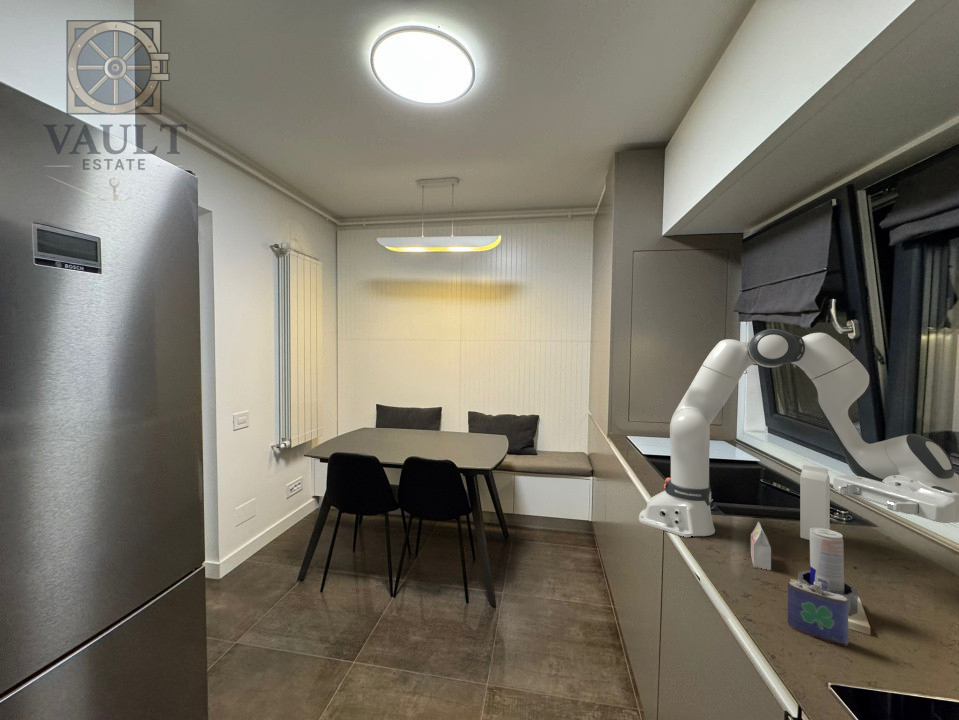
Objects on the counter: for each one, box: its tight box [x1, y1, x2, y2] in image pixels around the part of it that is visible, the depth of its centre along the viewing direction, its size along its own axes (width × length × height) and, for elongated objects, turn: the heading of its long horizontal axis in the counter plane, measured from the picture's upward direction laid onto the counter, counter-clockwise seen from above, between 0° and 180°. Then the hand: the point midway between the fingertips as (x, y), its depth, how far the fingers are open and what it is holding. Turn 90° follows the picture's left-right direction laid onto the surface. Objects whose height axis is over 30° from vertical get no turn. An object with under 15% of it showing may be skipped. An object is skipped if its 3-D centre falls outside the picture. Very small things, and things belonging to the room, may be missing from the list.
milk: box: [799, 464, 831, 541], centre depth 116 cm, size 6×6×22 cm
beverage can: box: [809, 528, 845, 594], centre depth 85 cm, size 6×6×15 cm
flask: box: [787, 580, 850, 647], centre depth 76 cm, size 9×3×11 cm, turn 51°
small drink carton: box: [750, 521, 772, 571], centre depth 103 cm, size 4×7×10 cm, turn 150°
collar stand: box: [790, 570, 871, 636], centre depth 84 cm, size 12×12×6 cm
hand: (865, 498), depth 87 cm, fingers open, 8 cm apart
